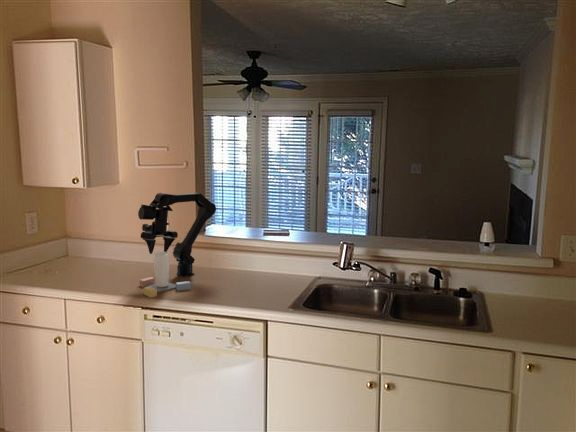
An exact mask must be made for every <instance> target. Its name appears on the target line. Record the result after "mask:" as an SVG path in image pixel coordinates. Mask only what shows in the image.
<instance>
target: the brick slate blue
mask: <svg viewBox="0 0 576 432" xmlns="http://www.w3.org/2000/svg"><path fill="white" fill-rule="evenodd" d="M175 285H176V289H175V290H176V291H186V290H192V283H191V281H190V280H188V281H178V282H175Z"/></svg>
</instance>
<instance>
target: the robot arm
mask: <svg viewBox="0 0 576 432" xmlns="http://www.w3.org/2000/svg"><path fill="white" fill-rule="evenodd" d="M189 202H190V203H191V202H195V204H196V206H197V207H198V210H197V215H196V216H197V217H196V218H195V220H194V221H193V223H192V225H191V227H190V229H189V230H188V232H187V234H186V235H185V237H184V239H183V241H181V242H176V244H175V247H173V248H172V250H173V252H172V255H173V257H174V259H175V260H176V262H177V266H176V268H177V272H176V275H177V276H181V277H184V278H185V277H189V276H193V275H195V272H193V264H194V262H195V259H196V258H194V257H193V256H192V251H193V245H194V243H195V241H196V239H197V237H198V236H199V234H200V232H201V231H202V230H203V227H204V225H205V224H206V222H207V221H208V220H210V219H211V218H212V217H213V216H214V215H215V213H216V212H217V206H216V204H215V203H213V202H211V201H210V199H207V198H206V197H205V196H204V195H203V194H202V193H201V192H191V193H189V192H188V193H179V194H178V193H177V194H176V193H175V194H171V193H166V192H165V193H164V192H158V193H156V194H155V197H154V199H152V201H151V202H150V204H149V205H148V204H147V205H146V204H141V205H140V207H139V210H138V212H137V215H138V218H139V220H141V221H142V220H143V221H144V220H145V221H149V220H150V221H152V222H151V224H150V225H149V224H148V223H144V224H142V227H141V229H142V231H141V232H140V239H142V241H144V242H145V243H146V246H147V248H148V252H149V254H150V255H152V254H154V253H153V252H154V249H155V245H156V242H157V241H156V238H161V237H162V240H163V242H164V243H163V252H168V250H169V248H170V247H171V246H172V244H173V242H174V241H175V240H176V239H177V238H178V235H179V234H178V232H177V231H175V230H168V229H167V226H170V222H168V217H169V216H168V215H169V212H172V211H173V209H172V207H171V206H172V205H175V204H178V203H189ZM153 220H154V221H153Z"/></svg>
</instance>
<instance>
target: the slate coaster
mask: <svg viewBox="0 0 576 432" xmlns="http://www.w3.org/2000/svg"><path fill="white" fill-rule="evenodd" d="M149 286H150V287H152V288H154V289H157V294H159V293H162V292H168V291H171V290H177V289H176V283H172V282H170V281H169V285H168V286H167V287H157V285H156V283H155V284H151V285H147V286H145V287H149ZM145 287H144V288H145Z"/></svg>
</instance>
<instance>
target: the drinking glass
mask: <svg viewBox="0 0 576 432" xmlns="http://www.w3.org/2000/svg"><path fill="white" fill-rule="evenodd" d="M153 266H154V275H155V284H156V285H157V287H167V286H168V285H169V282H170V280H169V279H170V276H169V275H170V252H168V251H167V252H164V251H158V252H154V253H153Z"/></svg>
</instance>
